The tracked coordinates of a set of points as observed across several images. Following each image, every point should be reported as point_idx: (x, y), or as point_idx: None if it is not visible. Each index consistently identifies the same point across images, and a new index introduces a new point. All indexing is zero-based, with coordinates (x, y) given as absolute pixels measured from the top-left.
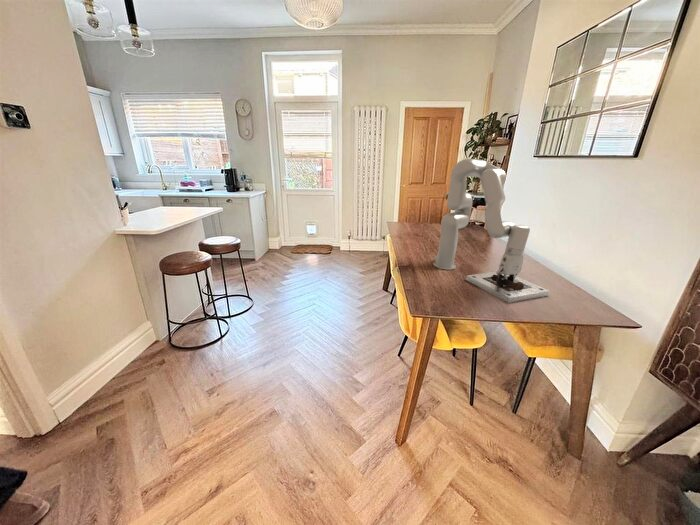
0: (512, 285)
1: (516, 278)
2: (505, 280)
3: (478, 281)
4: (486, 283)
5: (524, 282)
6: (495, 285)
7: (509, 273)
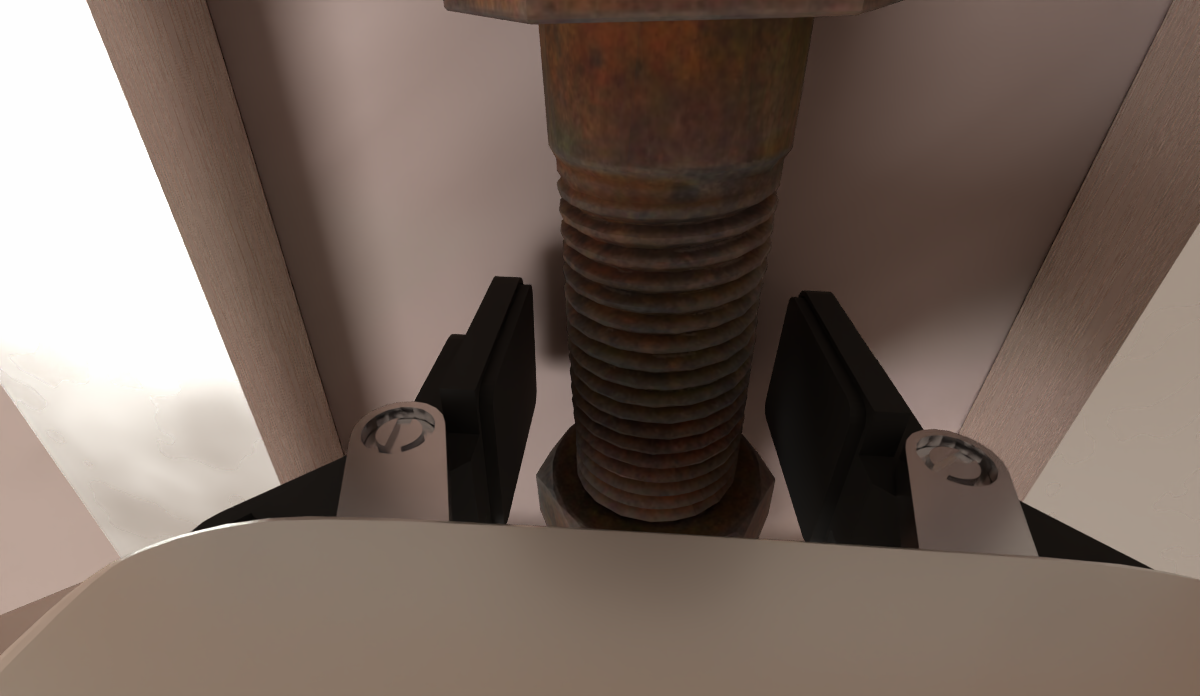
0: (792, 123)
1: (163, 452)
2: (721, 420)
3: (1198, 578)
4: (1179, 480)
5: (78, 234)
6: (1140, 344)
7: (1121, 640)
